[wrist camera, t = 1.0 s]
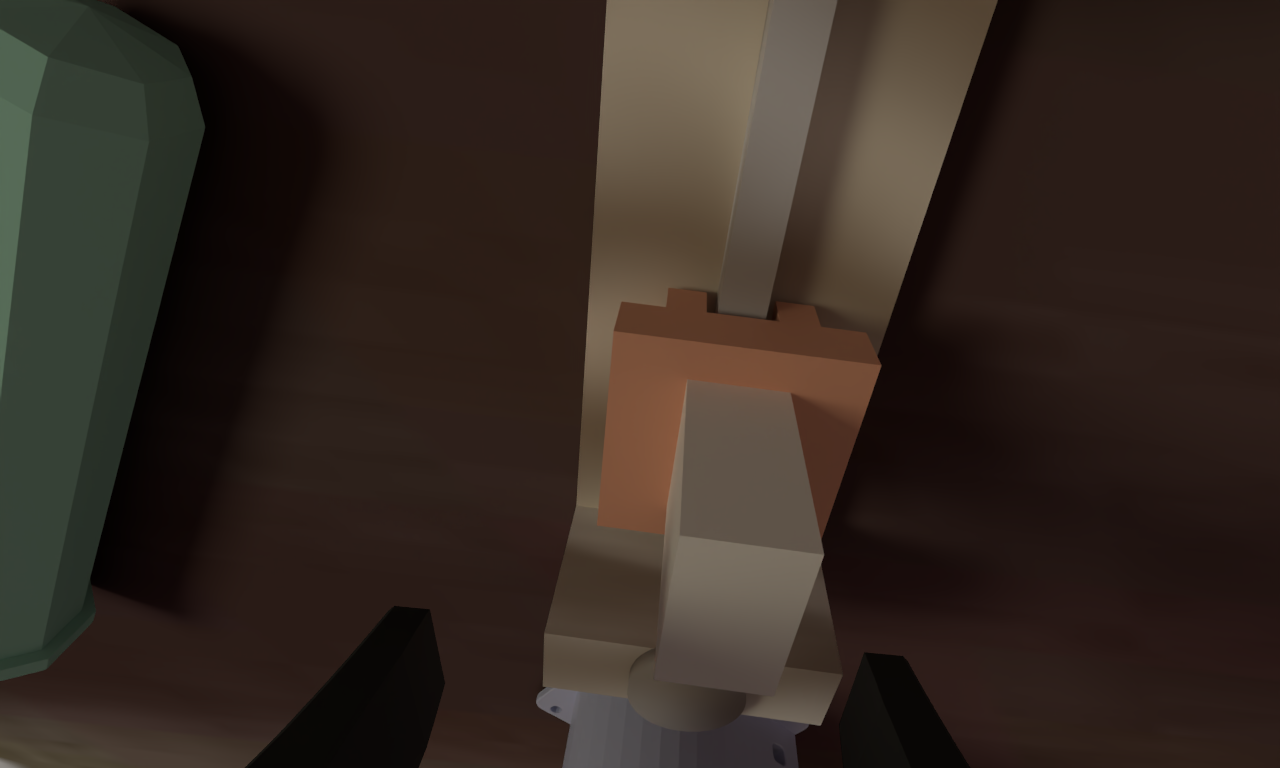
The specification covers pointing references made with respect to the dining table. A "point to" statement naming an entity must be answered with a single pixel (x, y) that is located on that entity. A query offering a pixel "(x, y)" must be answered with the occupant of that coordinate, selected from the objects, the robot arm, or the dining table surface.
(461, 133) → the dining table surface
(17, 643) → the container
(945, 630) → the dining table surface
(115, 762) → the dining table surface
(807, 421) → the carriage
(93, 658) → the dining table surface
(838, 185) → the rail
